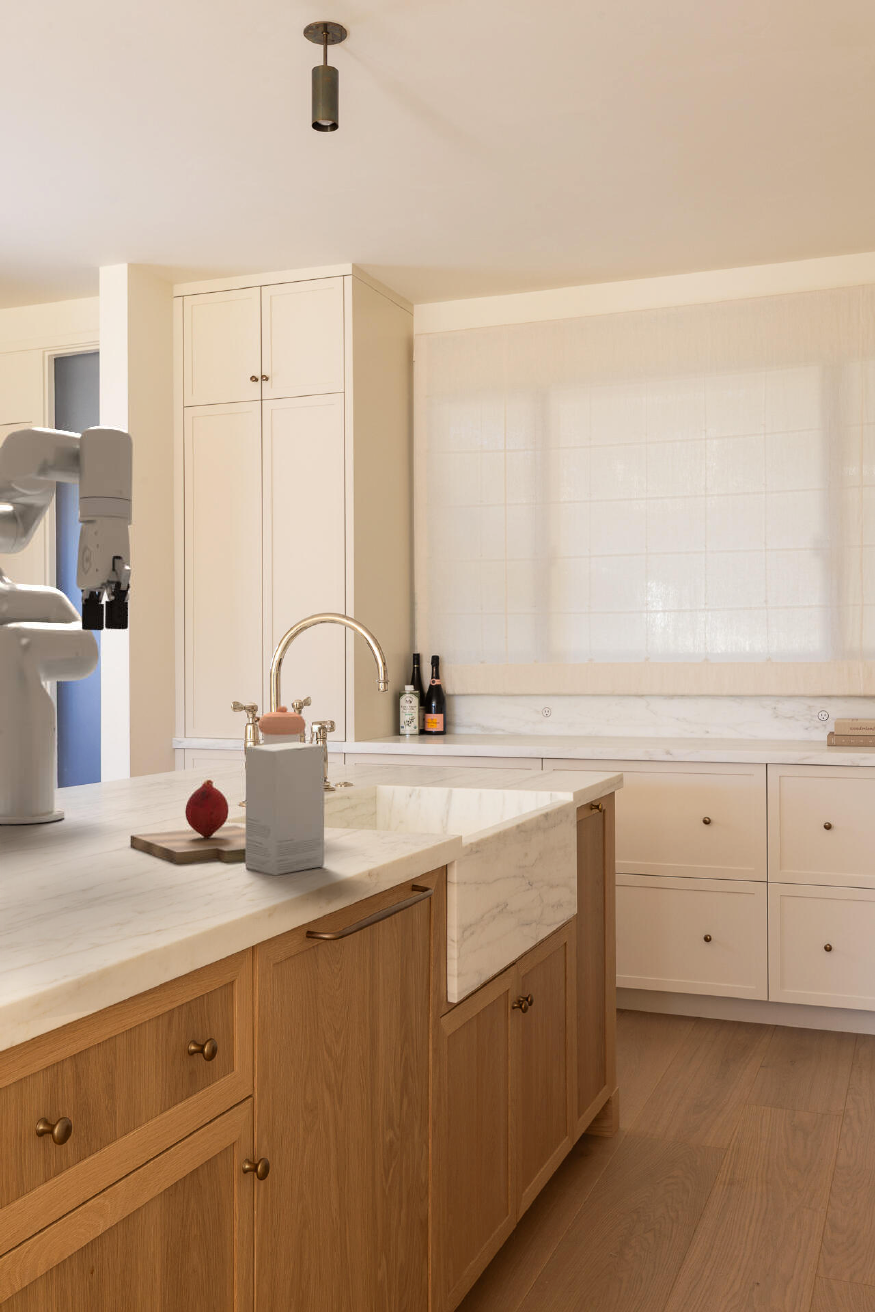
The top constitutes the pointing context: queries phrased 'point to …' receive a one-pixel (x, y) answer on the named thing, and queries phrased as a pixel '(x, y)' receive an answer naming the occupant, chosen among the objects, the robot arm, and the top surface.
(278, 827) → the skincare box
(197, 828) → the onion
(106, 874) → the top surface
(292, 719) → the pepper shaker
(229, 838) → the board
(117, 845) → the top surface
